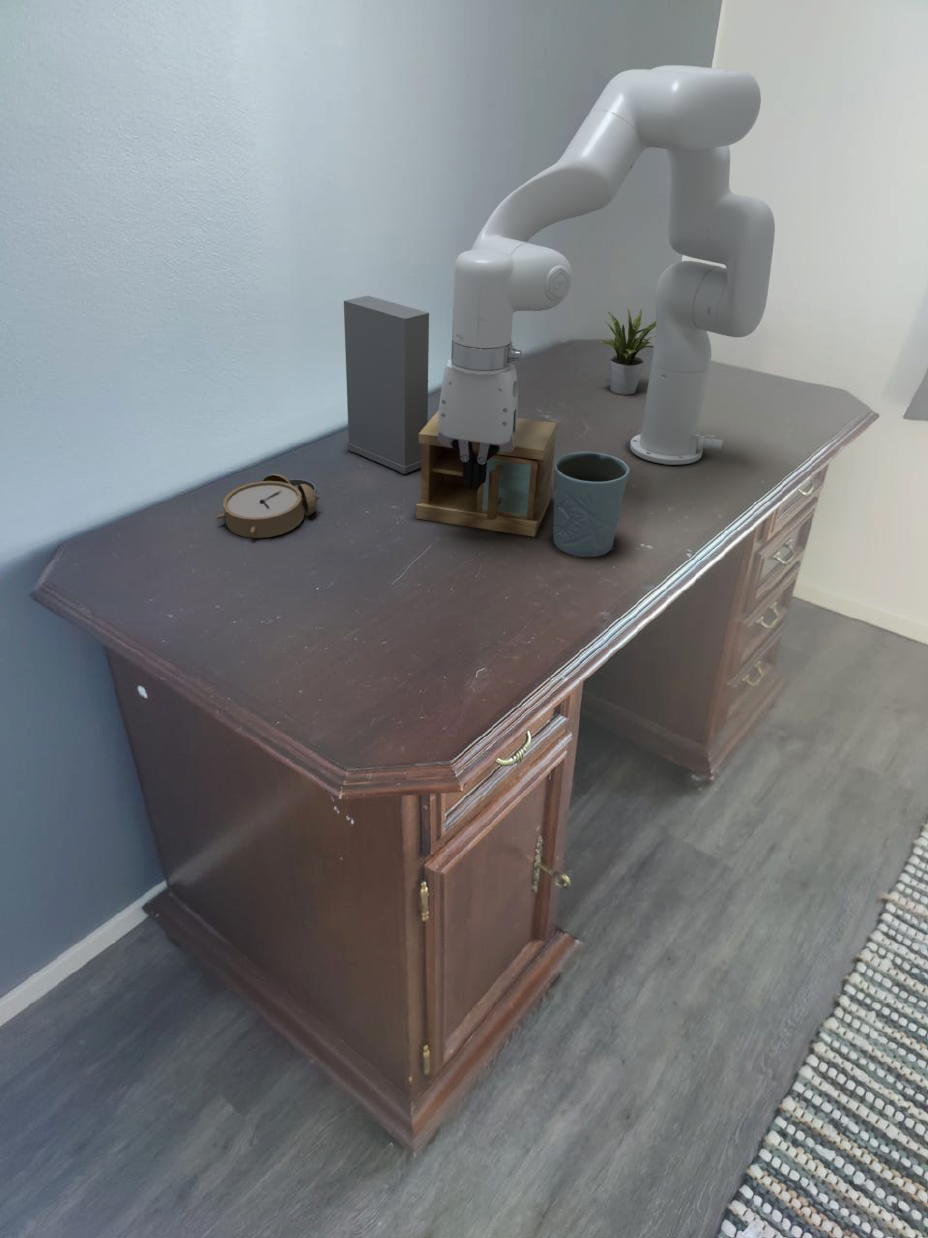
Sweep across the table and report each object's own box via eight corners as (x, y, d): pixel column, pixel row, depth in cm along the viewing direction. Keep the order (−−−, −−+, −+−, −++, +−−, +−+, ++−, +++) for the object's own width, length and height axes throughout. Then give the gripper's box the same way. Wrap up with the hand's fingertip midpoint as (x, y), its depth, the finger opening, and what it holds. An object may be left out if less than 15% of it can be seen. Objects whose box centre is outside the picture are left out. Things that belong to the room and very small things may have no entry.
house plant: (666, 405, 177) (680, 322, 168) (596, 403, 177) (606, 319, 168) (654, 382, 189) (666, 302, 180) (589, 379, 189) (598, 300, 180)
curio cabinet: (549, 502, 139) (557, 422, 132) (534, 536, 129) (542, 452, 122) (438, 486, 143) (439, 407, 135) (416, 518, 133) (416, 435, 126)
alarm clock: (204, 504, 128) (279, 456, 136) (213, 532, 131) (286, 483, 139) (258, 528, 122) (333, 477, 131) (266, 557, 125) (338, 505, 134)
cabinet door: (533, 519, 130) (538, 459, 125) (526, 536, 126) (531, 474, 121) (477, 511, 132) (480, 451, 126) (468, 527, 127) (470, 465, 122)
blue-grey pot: (619, 531, 132) (631, 455, 125) (615, 565, 123) (627, 485, 117) (551, 523, 133) (559, 447, 127) (542, 555, 125) (550, 476, 118)
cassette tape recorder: (430, 465, 149) (433, 311, 136) (404, 475, 145) (405, 319, 132) (374, 441, 157) (371, 294, 143) (347, 451, 153) (342, 300, 139)
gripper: (543, 353, 116) (531, 483, 126) (433, 340, 119) (430, 468, 129) (532, 370, 110) (520, 505, 120) (416, 355, 113) (414, 489, 123)
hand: (474, 486), depth 124 cm, fingers closed
